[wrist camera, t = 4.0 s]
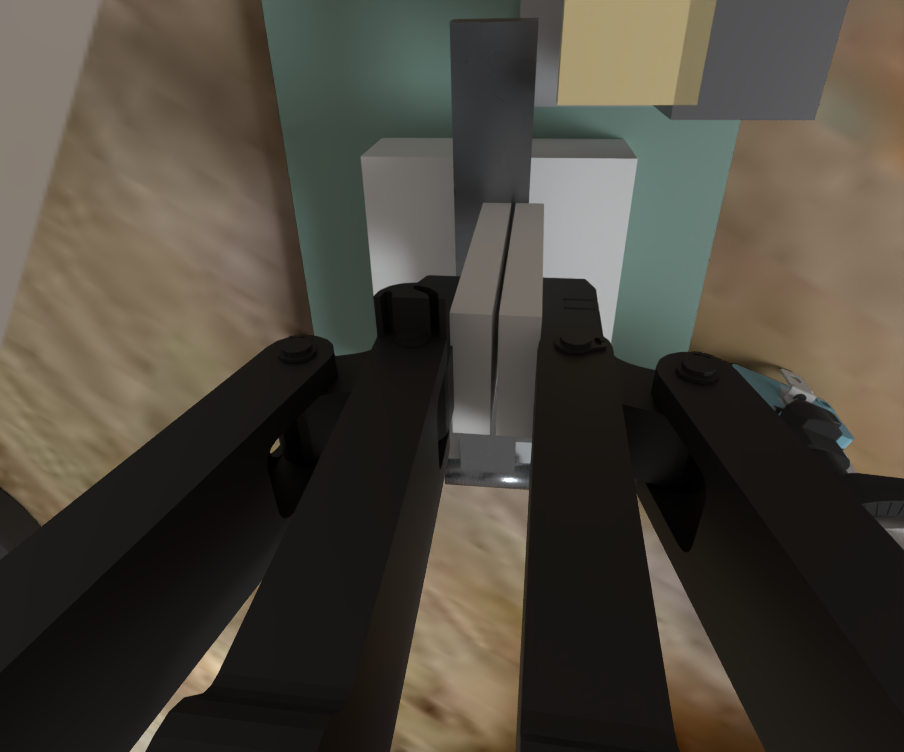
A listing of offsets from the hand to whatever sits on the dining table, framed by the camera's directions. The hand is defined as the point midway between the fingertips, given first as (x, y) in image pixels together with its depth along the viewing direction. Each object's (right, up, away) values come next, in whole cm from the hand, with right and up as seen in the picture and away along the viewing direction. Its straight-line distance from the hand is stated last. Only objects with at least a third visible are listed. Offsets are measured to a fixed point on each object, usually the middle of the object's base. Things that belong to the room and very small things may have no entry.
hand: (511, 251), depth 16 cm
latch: (+4, +7, +1) cm, 8 cm away
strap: (0, -1, +2) cm, 2 cm away
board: (0, +1, +6) cm, 7 cm away
